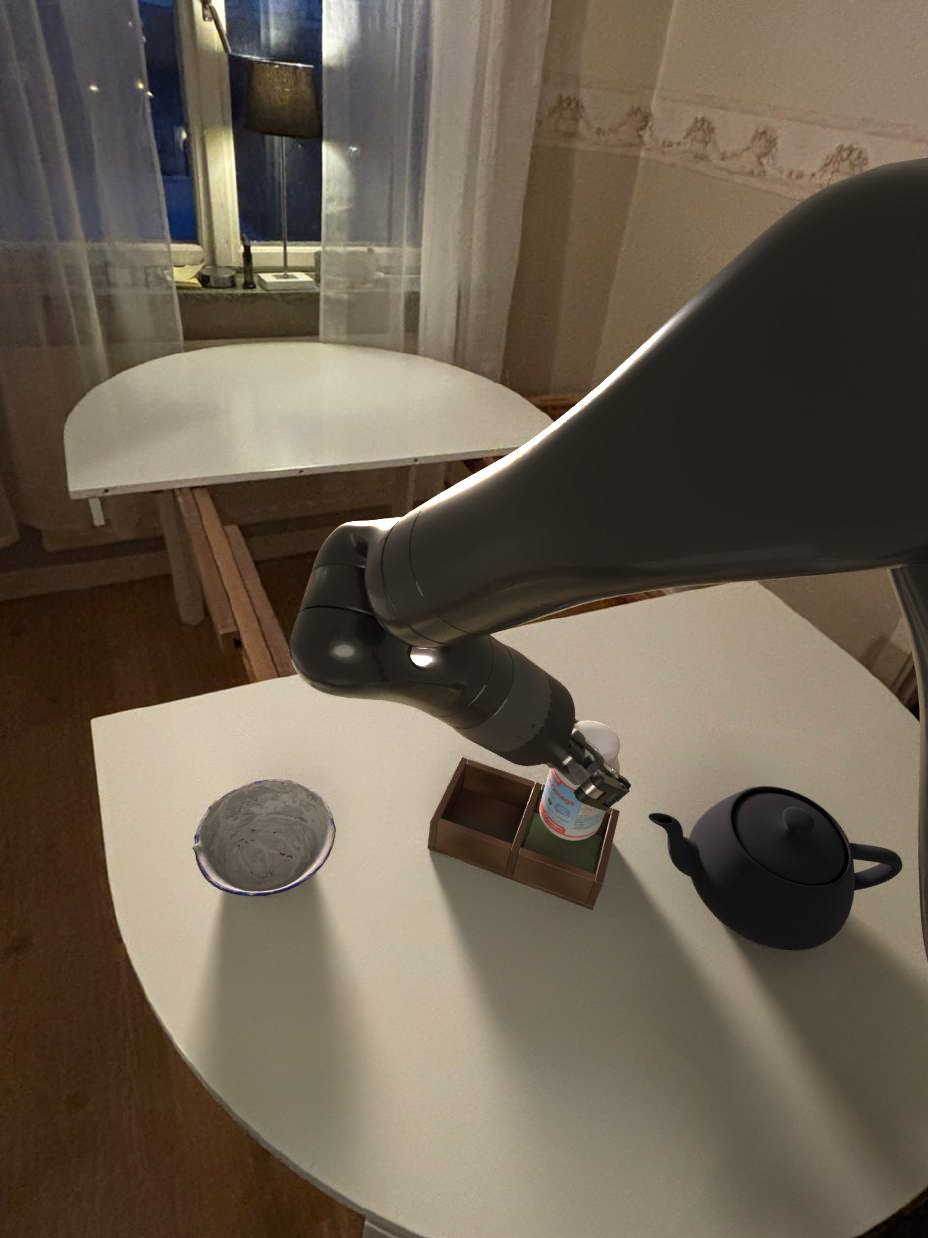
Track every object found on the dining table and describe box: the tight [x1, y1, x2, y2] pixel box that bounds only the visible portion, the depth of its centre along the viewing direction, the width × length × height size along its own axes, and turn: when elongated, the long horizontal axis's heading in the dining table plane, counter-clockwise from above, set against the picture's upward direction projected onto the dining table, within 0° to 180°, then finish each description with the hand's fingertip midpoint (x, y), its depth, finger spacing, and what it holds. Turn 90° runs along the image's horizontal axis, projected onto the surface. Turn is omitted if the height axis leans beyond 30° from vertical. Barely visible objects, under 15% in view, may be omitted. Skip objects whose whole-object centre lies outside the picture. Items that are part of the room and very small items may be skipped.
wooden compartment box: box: [427, 756, 621, 911], centre depth 76 cm, size 17×9×5 cm, turn 70°
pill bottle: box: [540, 720, 621, 840], centre depth 68 cm, size 6×6×11 cm
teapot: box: [648, 785, 904, 952], centre depth 71 cm, size 25×16×12 cm, turn 86°
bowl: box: [191, 778, 337, 899], centre depth 71 cm, size 13×13×5 cm
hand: (600, 763), depth 68 cm, fingers closed on pill bottle, 6 cm apart
